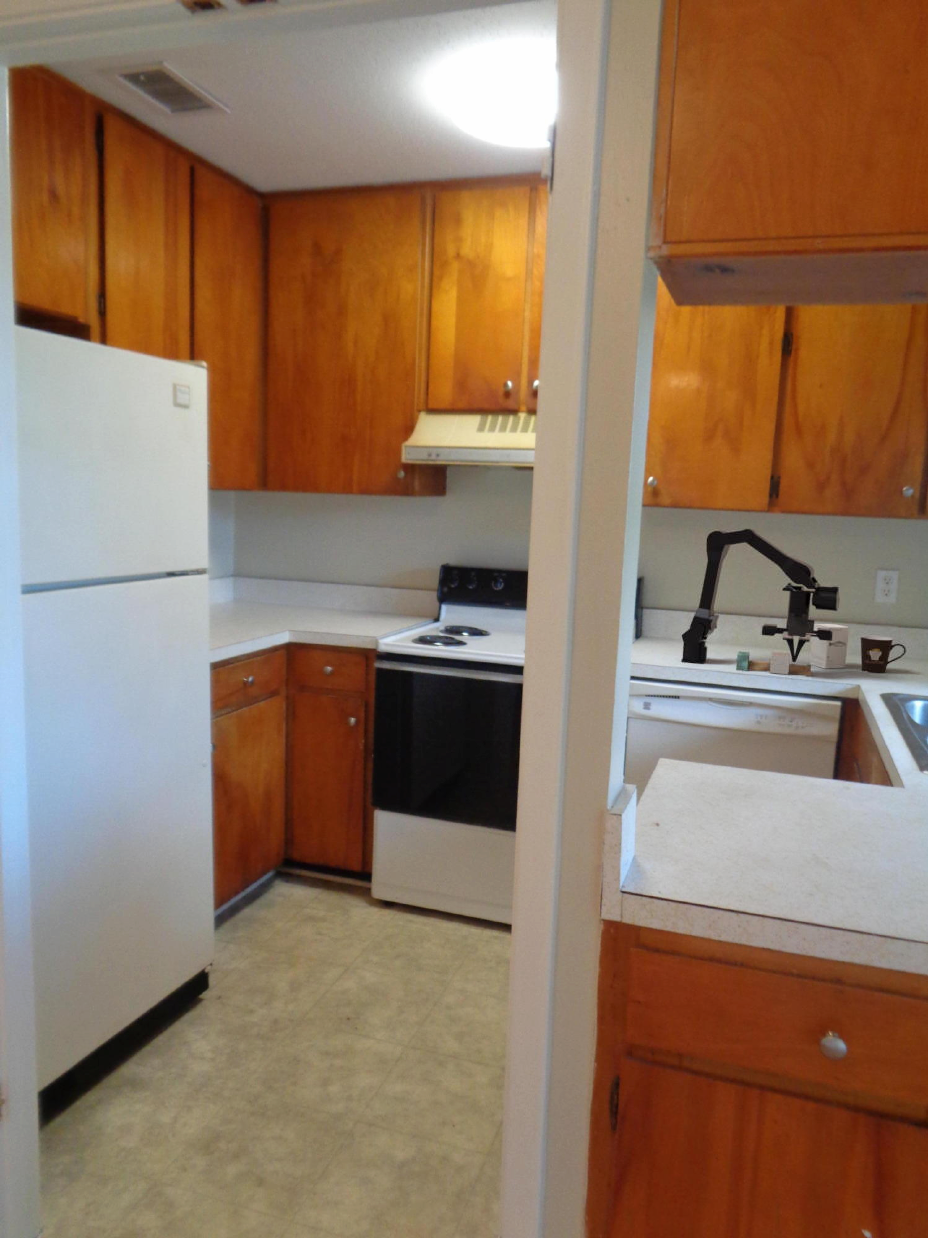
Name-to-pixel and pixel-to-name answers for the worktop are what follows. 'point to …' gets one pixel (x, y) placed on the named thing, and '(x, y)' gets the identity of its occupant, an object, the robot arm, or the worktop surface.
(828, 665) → the supplement box
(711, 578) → the robot arm
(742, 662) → the track
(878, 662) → the coffee mug
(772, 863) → the worktop surface
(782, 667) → the block
